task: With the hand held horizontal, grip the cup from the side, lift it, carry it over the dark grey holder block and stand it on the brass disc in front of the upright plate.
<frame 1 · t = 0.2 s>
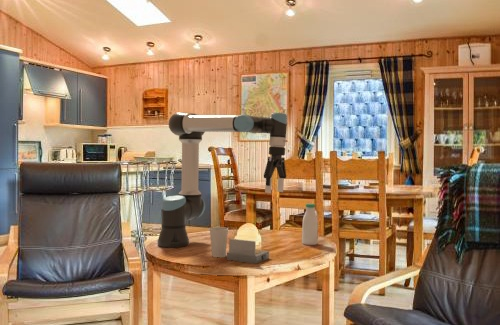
hand: (274, 192, 224), 27 cm above the table, fingers open, 13 cm apart
cup: (218, 256, 212), on the table
milk bottle: (309, 244, 241), on the table
grey holder block: (248, 259, 206), on the table
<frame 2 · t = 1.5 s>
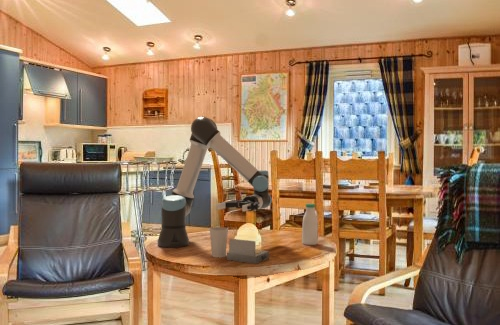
hand: (229, 207, 220), 20 cm above the table, fingers open, 13 cm apart
nothing on the table moved.
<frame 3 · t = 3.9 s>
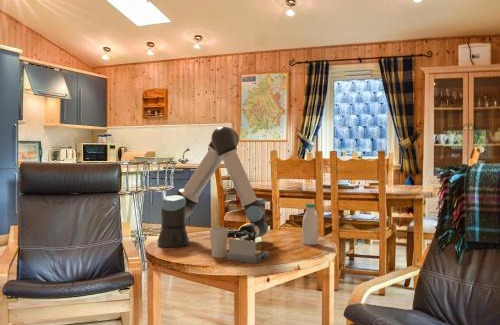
hand: (226, 239, 216), 6 cm above the table, fingers open, 13 cm apart
nothing on the table moved.
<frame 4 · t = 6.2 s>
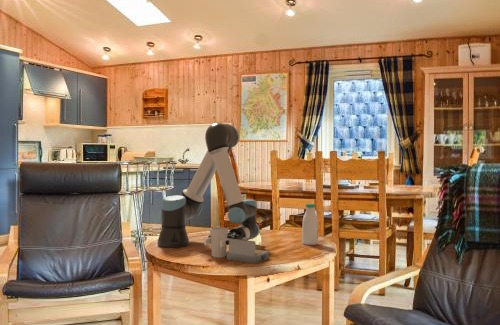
hand: (212, 242, 207), 7 cm above the table, fingers closed on cup, 7 cm apart
cup: (218, 256, 212), on the table, touching gripper
everything else where it was.
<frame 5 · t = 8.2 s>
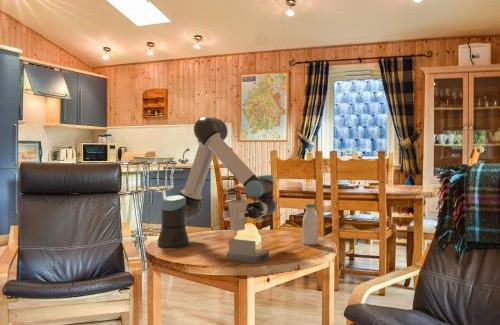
hand: (231, 215, 204), 19 cm above the table, fingers closed on cup, 7 cm apart
cup: (237, 229, 208), point 12 cm above the table, touching gripper
everything else where it was.
when the fingers open (11 cm above the table, at t = 10.3 s): cup drops 1 cm, resting on grey holder block.
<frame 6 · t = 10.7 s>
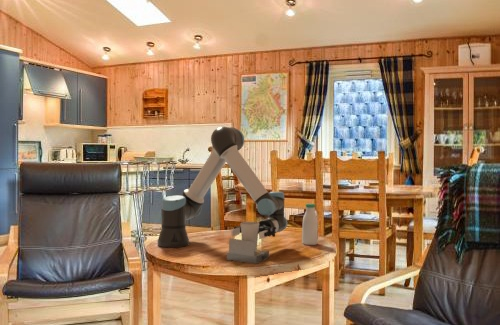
hand: (245, 234, 204), 11 cm above the table, fingers open, 13 cm apart
cup: (249, 251, 207), point 3 cm above the table, touching grey holder block
everything else where it was.
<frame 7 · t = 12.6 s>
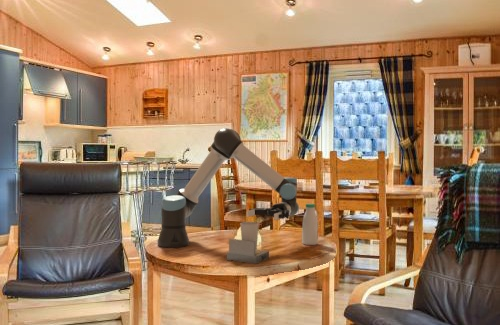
hand: (260, 215, 215), 17 cm above the table, fingers open, 13 cm apart
nothing on the table moved.
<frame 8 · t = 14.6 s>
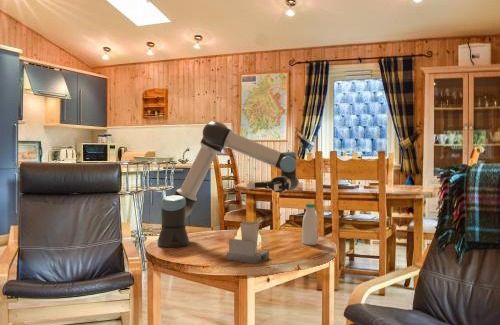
hand: (260, 187, 216), 30 cm above the table, fingers open, 13 cm apart
nothing on the table moved.
at the end: cup inside the target area on the grey holder block (0.1 cm from its centre), point 3.0 cm above the grey holder block's base; cup tilted 0°; the gripper is holding nothing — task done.
